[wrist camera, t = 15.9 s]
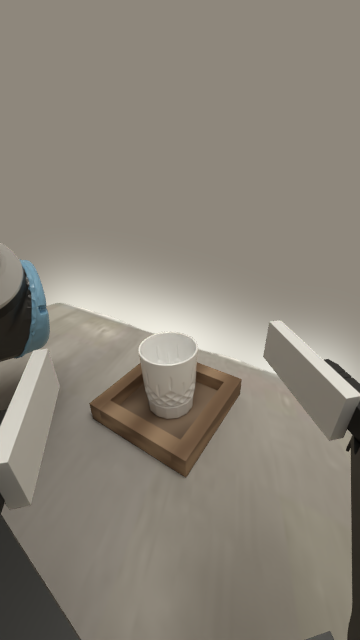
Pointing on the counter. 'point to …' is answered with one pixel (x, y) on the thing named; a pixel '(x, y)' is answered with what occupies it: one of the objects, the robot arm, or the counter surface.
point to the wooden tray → (168, 434)
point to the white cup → (169, 372)
